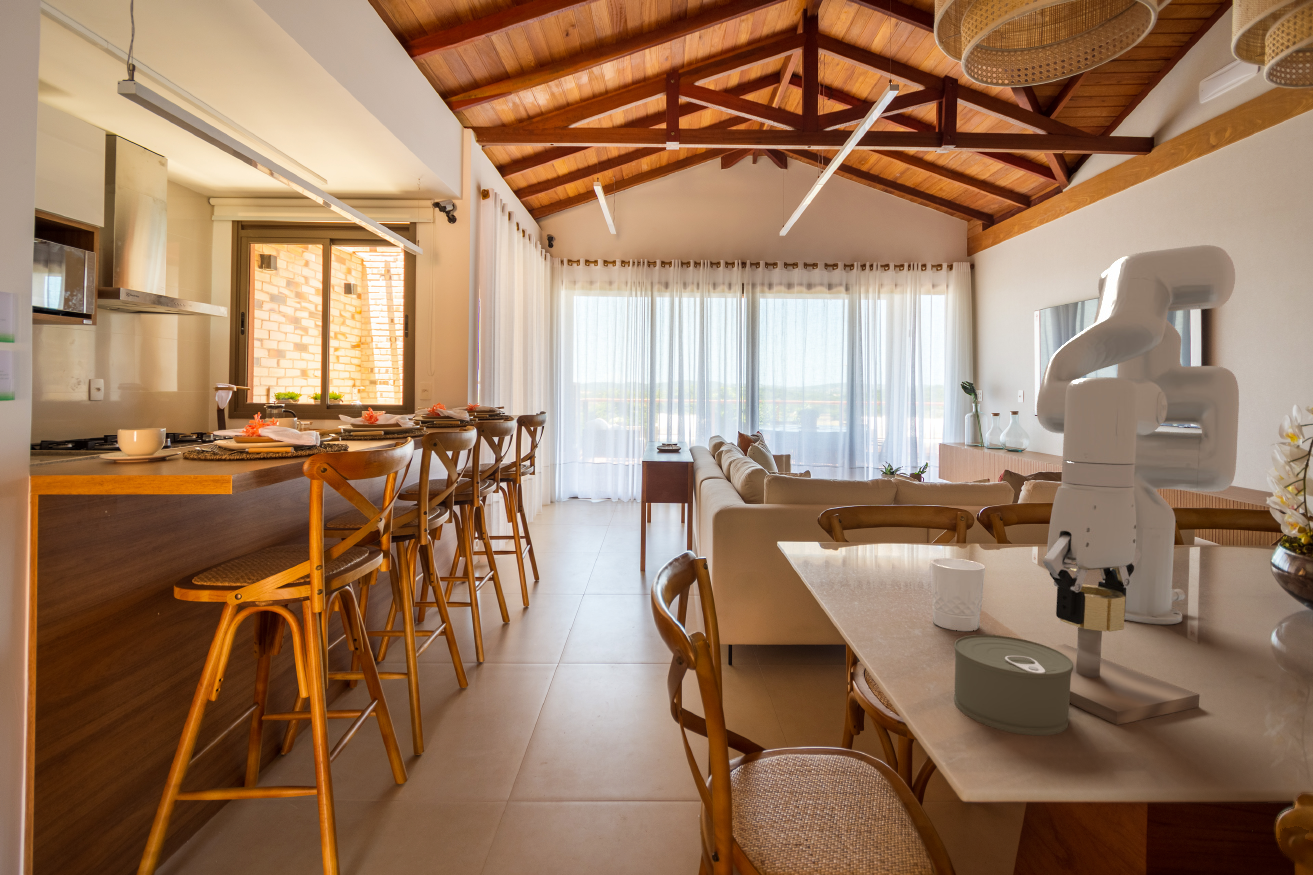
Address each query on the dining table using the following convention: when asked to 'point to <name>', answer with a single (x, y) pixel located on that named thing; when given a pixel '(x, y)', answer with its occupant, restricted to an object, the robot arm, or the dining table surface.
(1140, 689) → the post block
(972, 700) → the can
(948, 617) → the white cup
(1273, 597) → the dining table surface
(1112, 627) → the ring
